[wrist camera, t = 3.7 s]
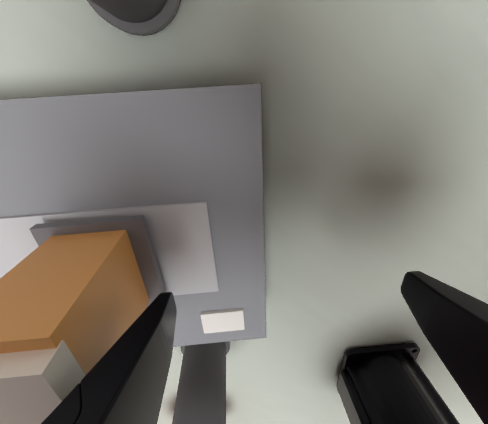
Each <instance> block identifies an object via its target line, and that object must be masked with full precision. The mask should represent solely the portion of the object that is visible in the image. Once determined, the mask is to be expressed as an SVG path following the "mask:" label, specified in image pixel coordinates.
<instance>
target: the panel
mask: <svg viewBox="0 0 488 424" xmlns="http://www.w3.org/2000/svg"><path fill="white" fill-rule="evenodd" d="M141 215H144V217H145V221H146V224H147V228H148V231H149V235H150V238H151V242H152V246H153V249H154V253H155V256H156V260H157V263H158V267H159V270H160V274H161V278H162V281H163V285H164V288H165V292H172V293H173V296H174V300H175V304H176V308H177V315H176V324H175V332H174V341H173V347H176V346H186V345H197V344H207V343H217V342H227V341H237V340H247V339H257V338H266V301H265V254H264V207H263V161H262V114H261V83H259V84H244V85H228V86H212V87H196V88H180V89H164V90H148V91H132V92H117V93H101V94H85V95H69V96H53V97H37V98H21V99H6V100H0V278H2V277H3V276H4V275H5V274H6V273H8V272H9V271H10V270H11V269H12V268H14V267H15V266H16V265H17V264H18V263H20V262H21V261H22V260H23V259H24V258H26V257H27V256H28V255H29V254H30V253H32V252H33V251H34V250H35V249H36V248H38V247H39V246H38V244H37V242H36V241H35V239H34V237H33V235H32V233H31V231H30V230H29V229H30V228H31V227H33V226H34V225H35V224H42V223H54V222H67V221H79V220H91V219H104V218H116V217H129V216H141ZM147 307H148V306H147Z"/></svg>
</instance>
